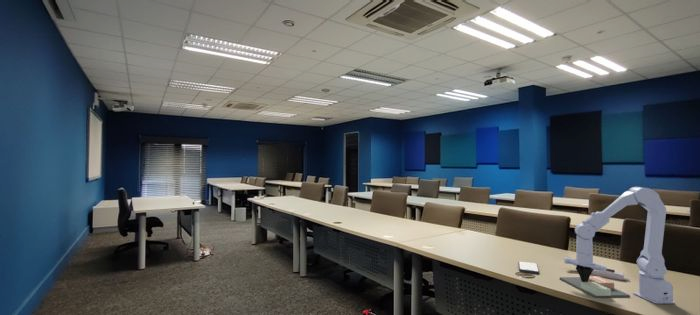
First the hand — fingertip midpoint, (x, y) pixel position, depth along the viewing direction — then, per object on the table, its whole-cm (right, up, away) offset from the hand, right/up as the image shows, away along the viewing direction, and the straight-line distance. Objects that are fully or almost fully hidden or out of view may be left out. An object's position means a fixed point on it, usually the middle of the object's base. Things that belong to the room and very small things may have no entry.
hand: (584, 284), depth 135 cm
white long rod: (+19, -3, +18) cm, 26 cm away
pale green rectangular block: (0, -2, -6) cm, 6 cm away
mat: (+4, -2, +1) cm, 5 cm away
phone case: (-9, -3, +26) cm, 28 cm away
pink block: (+7, -2, +1) cm, 7 cm away
